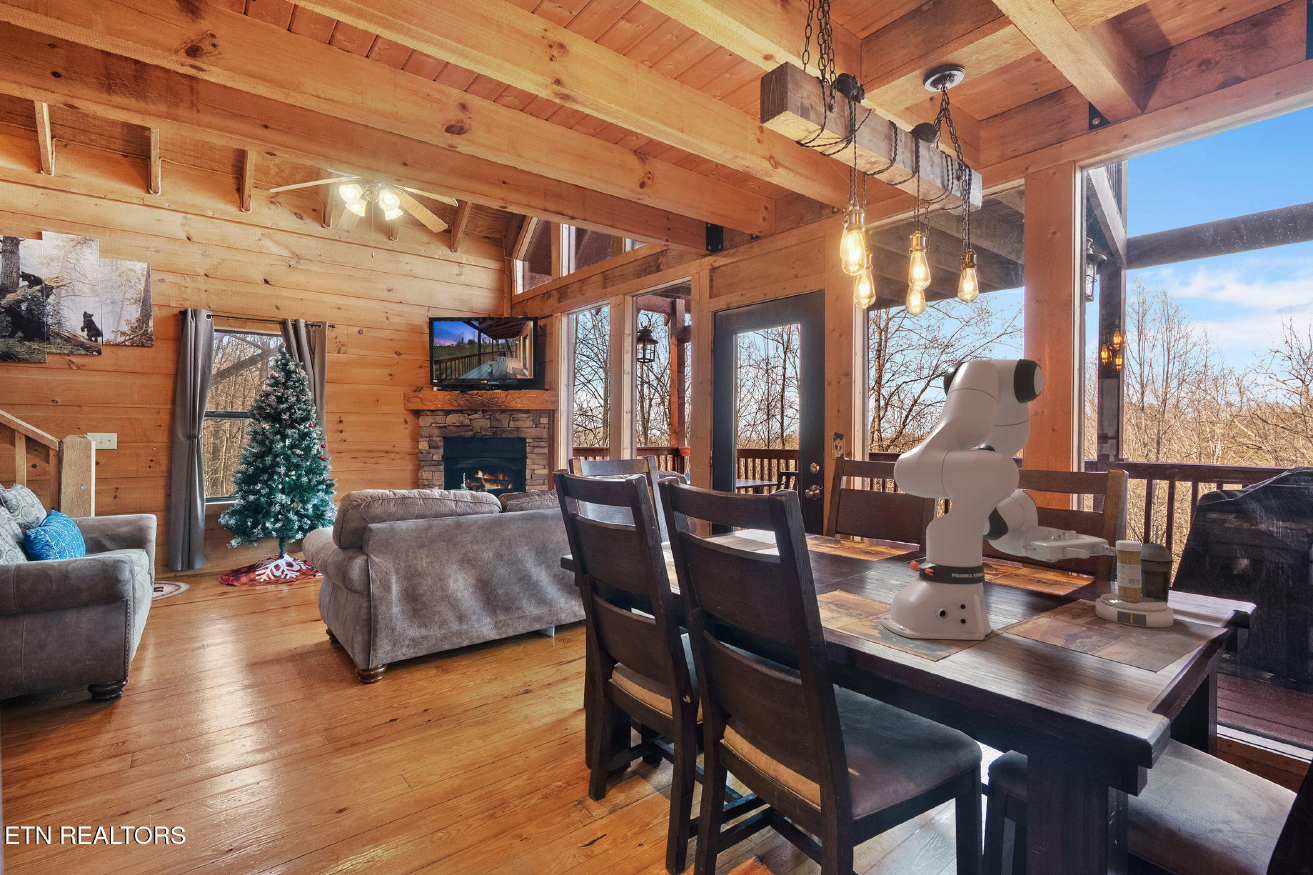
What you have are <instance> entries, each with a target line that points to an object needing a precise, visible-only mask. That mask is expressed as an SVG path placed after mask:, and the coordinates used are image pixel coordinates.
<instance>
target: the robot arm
mask: <svg viewBox="0 0 1313 875" xmlns="http://www.w3.org/2000/svg"><path fill="white" fill-rule="evenodd" d="M1044 380H1045V379H1044V374H1043V371H1042V368H1041V366H1040V364H1039V363H1038V362H1036V360H1032V359H1026V358H1019V359H992V358H988V359H971V360H968V361H961V362H960V361H959V362H956V363H953V364H951V365H950V366H949V367H948V368H947V369H946V370H945V372H944V374H943V382H942V383H943V386H942V387H943V391H944V395H945V396H946V397H945V401H944V405H943V407H942V409H941V410H942V411H941V413H940V415H939V419H938V420H937V422H936V425H935V426H934V428H933V429H932V430H931V432H930V433H929V434H928V435H927V436H926V437H925V438H924V439H923V440H922V441H921V442H920V443H918V444H917V445H916V446H915V447H913V448H912V449H909V450H908V451H906V452H905V451H904V452H903V453H902V454H900V456H898V458H897V460H896V462H895V465H894V466H893V467H894V468H893V479H894V481H895V484H896V485H897V487H898V489H899V490H900V491H901V492H903V493H904V494H909V495H912V496H916V497H919V498H929V499H944V500H951V507H950V508H949V511H948V513H945V514H942V515H940V516H938V517H936V518H934V519H933V520H931V521H930V522H929V523H928V525H927V527H926V530H925V532H926V534H925V538H926V540H925V541H926V542H925V543H926V544H925V545H926V546H925V547H926V548H925V549H926V551H925V553H926V559H925V560H924V562H922V564H921V563H919V562H917V561H913V560H912V561H911V562H910V563H909V569H910V570H911V571H914V572H918V577H917V578H916V579H915V580H912V581H911V583H909V584H908V585H906V587H904V588H903V589H901V590H900V591H898V592H897V593H895V595H894V596H893V598H892V601H891V605H890V606H891V607H890V614H882V615H881V616H880V624H881V625H882V626H883V627H885V628H886V629H887V630H889V631H890V632H893V633H895V634H897V635H899V636H902V637H906V638H910V639H928V640H929V639H930V640H931V639H933V640H935V639H936V640H965V641H966V640H969V641H970V640H972V641H983V640H985V639H986V635H989V634H991V632H992V626H991V624H990V621H989V617H988V613H987V608H986V600H985V595H984V594H985V593H984V587H985V580H986V578H985V576H986V575H985V574H986V573H985V572H986V571H985V565H984V563H983V542H984V541H983V540H984V539H985V540H987V541H988V543H989V545H991V546H992V547H993V548H994V549H996V550H998V551H999V552H1003V553H1004V554H1009V555H1013V556H1017V557H1018V556H1019V557H1028V558H1030V559H1033V560H1038V561H1042V562H1043V561H1044V562H1048V563H1056V562H1058V561H1059V560H1064V559H1075V558H1080V559H1089V558H1091V557H1092V556H1093V557H1094V556H1095V557H1096V556H1103V555H1106V556H1117V549H1116V547H1113V546H1109V541H1108V540H1106V539H1105V538H1102V537H1101V538H1100V537H1097V536H1093V535H1089V534H1081V533H1077V531H1075V530H1069V529H1058V528H1054V527H1048V526H1042V525H1039V513H1038V506H1037V504H1036V502H1035V500H1034V498H1033V497H1032V496H1031V495H1030V494H1029V493H1027V492H1025V491H1023V490H1021V489H1017V488H1018V486H1019V484H1020V483H1019V482H1020V472H1019V468H1018V467H1019V466H1018V465H1017V463H1016V462H1015V460H1014V459H1013V457H1015V456H1016V455H1017V454H1018V453H1019V452H1021V450H1022V449H1024V448H1025V447H1026V445H1027V443H1028V442H1029V439H1030V434H1031V419H1030V418H1031V416H1030V415H1031V414H1030V407H1029V402H1033V401H1034V400H1036V399H1037V398H1039V396H1040V395H1041V392H1042V390H1043V387H1044V382H1045V381H1044ZM975 447H978V448H977V449H973V448H975Z"/></svg>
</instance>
